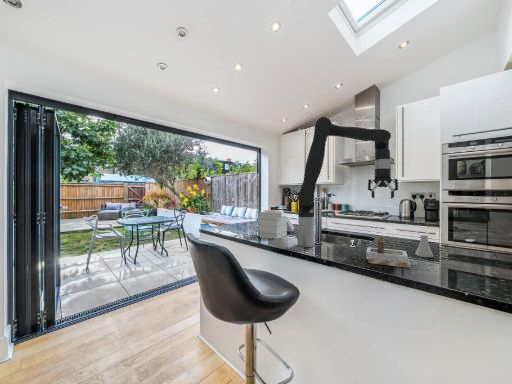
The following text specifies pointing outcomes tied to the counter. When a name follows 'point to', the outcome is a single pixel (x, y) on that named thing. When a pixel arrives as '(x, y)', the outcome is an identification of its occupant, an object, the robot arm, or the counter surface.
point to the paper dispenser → (273, 224)
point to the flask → (424, 248)
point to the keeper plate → (381, 250)
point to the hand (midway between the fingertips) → (382, 198)
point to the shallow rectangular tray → (387, 255)
